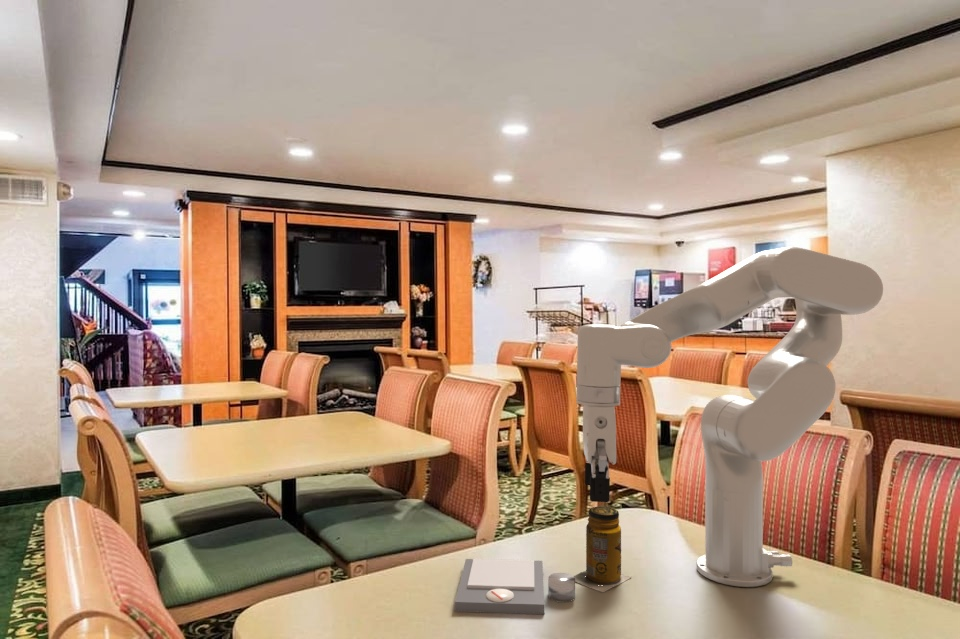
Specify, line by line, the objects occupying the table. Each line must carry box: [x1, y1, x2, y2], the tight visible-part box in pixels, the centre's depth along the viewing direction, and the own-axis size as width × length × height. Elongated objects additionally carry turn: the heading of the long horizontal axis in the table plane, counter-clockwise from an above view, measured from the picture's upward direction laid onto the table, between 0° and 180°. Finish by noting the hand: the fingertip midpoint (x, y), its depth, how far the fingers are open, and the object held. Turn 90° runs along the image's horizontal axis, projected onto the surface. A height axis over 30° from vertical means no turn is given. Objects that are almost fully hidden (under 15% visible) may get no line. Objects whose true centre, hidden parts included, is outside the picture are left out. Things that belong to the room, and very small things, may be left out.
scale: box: [454, 558, 545, 615], centre depth 107 cm, size 14×17×2 cm
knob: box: [547, 572, 576, 603], centre depth 104 cm, size 4×4×3 cm
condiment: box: [573, 505, 632, 593], centre depth 111 cm, size 7×8×12 cm
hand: (596, 492), depth 110 cm, fingers open, 9 cm apart
